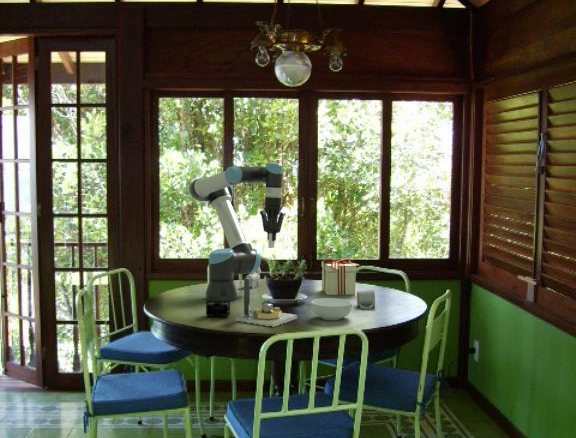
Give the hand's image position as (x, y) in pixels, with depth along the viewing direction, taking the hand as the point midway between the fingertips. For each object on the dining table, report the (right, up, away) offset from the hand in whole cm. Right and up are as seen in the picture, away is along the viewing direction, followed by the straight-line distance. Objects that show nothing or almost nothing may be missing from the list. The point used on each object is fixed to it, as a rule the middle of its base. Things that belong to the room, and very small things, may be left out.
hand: (271, 247), depth 311 cm
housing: (-1, -29, -33) cm, 43 cm away
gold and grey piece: (-3, -27, -32) cm, 42 cm away
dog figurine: (-10, -23, +42) cm, 49 cm away
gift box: (+34, -24, +27) cm, 49 cm away
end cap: (-22, -28, -27) cm, 45 cm away
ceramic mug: (+43, -27, -7) cm, 52 cm away
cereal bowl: (+26, -29, -29) cm, 48 cm away
